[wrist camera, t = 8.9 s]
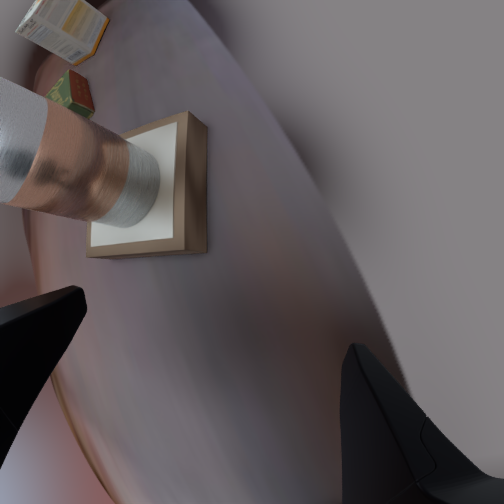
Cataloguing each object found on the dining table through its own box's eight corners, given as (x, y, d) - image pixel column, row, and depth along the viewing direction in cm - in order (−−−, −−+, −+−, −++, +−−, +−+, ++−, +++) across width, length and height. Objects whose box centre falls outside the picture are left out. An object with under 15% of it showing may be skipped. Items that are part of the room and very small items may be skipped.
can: (142, 239, 19) (-41, 205, 7) (93, 216, 22) (-51, 182, 9) (173, 155, 19) (12, 65, 7) (119, 145, 21) (-14, 82, 9)
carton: (27, 156, 34) (6, 149, 30) (89, 79, 30) (68, 65, 26) (29, 196, 32) (6, 190, 28) (97, 113, 28) (71, 99, 24)
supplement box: (91, 31, 32) (38, -5, 20) (111, 19, 31) (57, -22, 18) (74, 67, 32) (13, 32, 19) (94, 56, 30) (30, 15, 18)
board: (206, 252, 21) (183, 249, 18) (110, 259, 25) (84, 257, 22) (207, 127, 22) (187, 109, 19) (117, 155, 25) (94, 144, 23)
